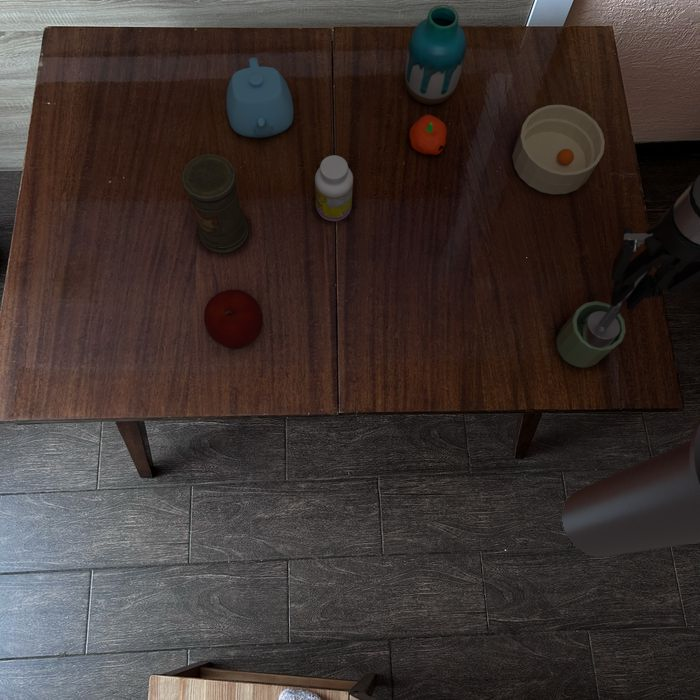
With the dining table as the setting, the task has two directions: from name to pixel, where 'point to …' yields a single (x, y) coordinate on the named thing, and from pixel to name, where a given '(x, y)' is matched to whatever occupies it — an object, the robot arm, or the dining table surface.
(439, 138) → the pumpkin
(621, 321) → the cup
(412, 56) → the vase
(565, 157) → the ball
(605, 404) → the dining table surface
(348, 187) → the supplement bottle
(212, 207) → the container
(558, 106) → the bowl
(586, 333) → the ladle
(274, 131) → the teapot
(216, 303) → the apple
